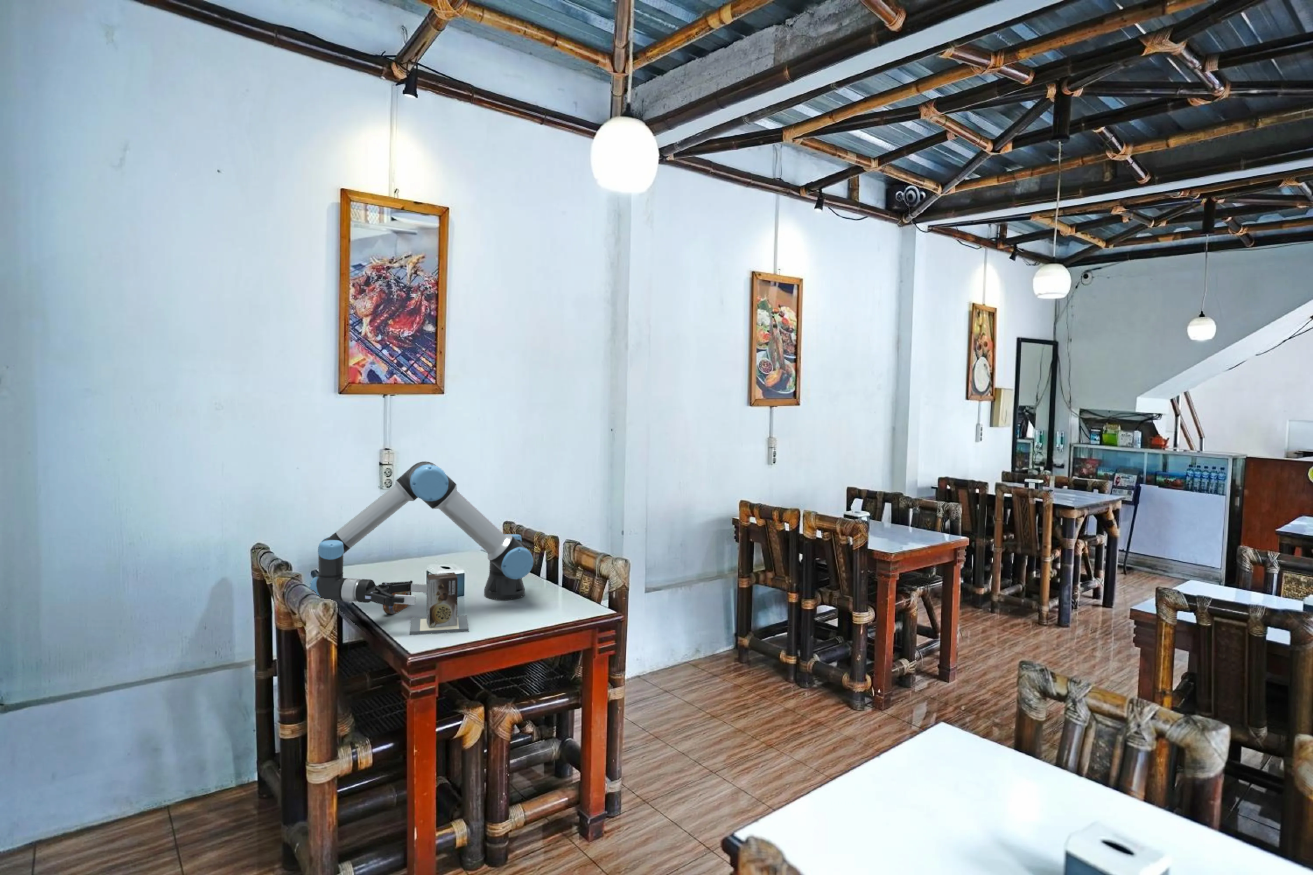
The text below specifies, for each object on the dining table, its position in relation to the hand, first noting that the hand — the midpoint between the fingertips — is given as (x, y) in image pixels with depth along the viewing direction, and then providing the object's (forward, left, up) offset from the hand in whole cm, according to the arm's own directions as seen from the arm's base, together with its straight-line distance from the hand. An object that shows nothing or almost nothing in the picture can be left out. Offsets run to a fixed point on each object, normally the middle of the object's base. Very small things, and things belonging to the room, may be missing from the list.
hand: (423, 594), depth 243 cm
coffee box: (-6, +2, -10) cm, 12 cm away
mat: (-5, +1, -11) cm, 12 cm away
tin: (+9, -19, -11) cm, 23 cm away
